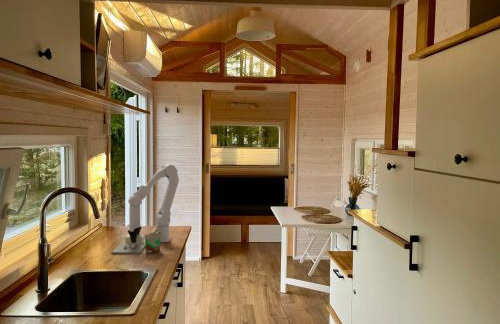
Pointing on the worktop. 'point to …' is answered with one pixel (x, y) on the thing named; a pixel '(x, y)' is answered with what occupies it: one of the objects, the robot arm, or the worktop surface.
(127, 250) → the stub board
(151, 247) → the food container
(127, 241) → the housing cap
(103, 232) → the worktop surface
